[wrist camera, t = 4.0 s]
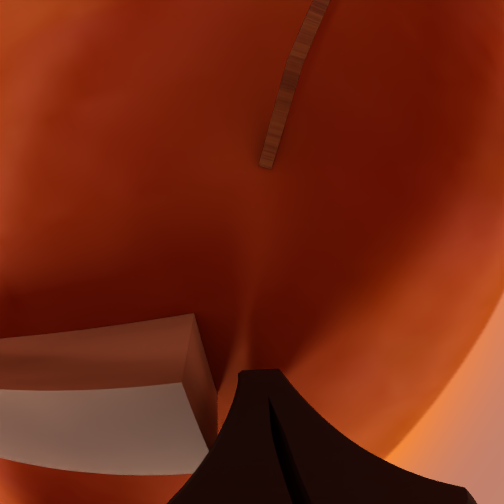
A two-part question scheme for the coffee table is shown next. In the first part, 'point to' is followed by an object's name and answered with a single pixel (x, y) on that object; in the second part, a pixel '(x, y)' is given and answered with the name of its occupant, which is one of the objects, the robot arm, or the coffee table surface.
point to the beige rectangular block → (109, 399)
